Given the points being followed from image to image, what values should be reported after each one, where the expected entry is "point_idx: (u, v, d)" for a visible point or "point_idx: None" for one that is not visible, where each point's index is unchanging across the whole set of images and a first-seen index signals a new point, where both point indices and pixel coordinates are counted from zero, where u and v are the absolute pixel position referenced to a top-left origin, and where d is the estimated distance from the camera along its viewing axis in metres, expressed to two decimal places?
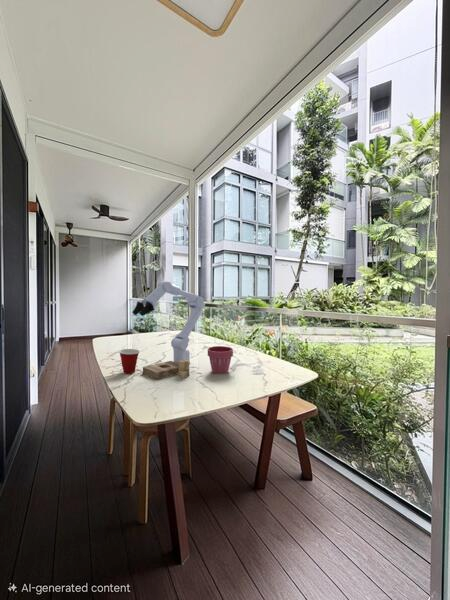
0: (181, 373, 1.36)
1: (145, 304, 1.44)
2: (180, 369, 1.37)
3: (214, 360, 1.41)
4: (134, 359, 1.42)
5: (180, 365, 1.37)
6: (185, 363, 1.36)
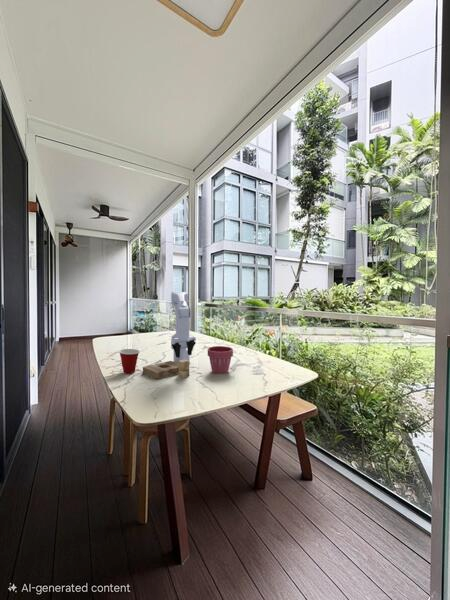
0: (181, 373, 1.36)
1: (182, 342, 1.37)
2: (180, 369, 1.37)
3: (214, 360, 1.41)
4: (134, 359, 1.42)
5: (180, 365, 1.37)
6: (185, 363, 1.36)
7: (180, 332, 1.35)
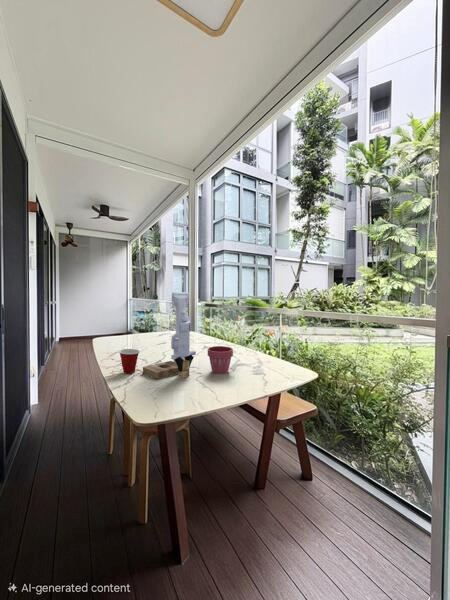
0: (181, 373, 1.36)
1: (182, 357, 1.37)
2: None
3: (214, 360, 1.41)
4: (134, 359, 1.42)
5: None
6: (185, 363, 1.36)
7: (180, 347, 1.35)
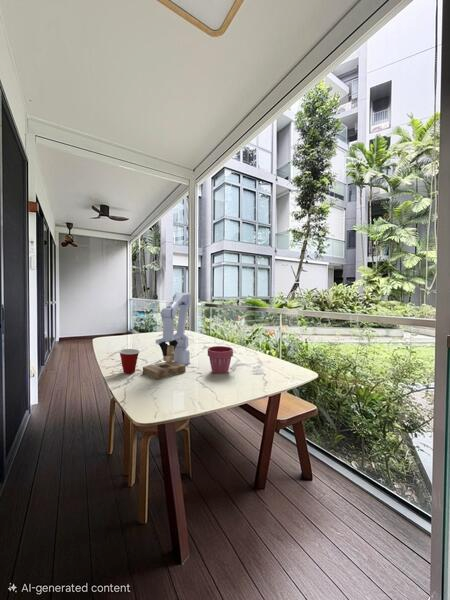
0: (165, 357, 1.40)
1: None
2: None
3: (214, 360, 1.41)
4: (134, 359, 1.42)
5: None
6: (169, 348, 1.40)
7: (164, 332, 1.39)
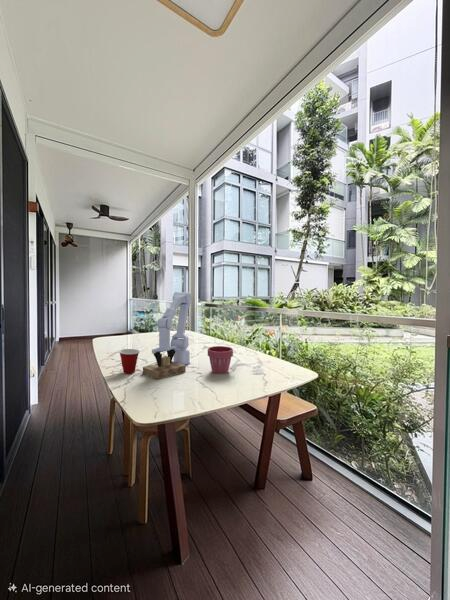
0: None
1: (163, 351, 1.42)
2: (161, 365, 1.42)
3: (214, 360, 1.41)
4: (134, 359, 1.42)
5: (161, 361, 1.42)
6: (166, 359, 1.41)
7: (161, 342, 1.41)
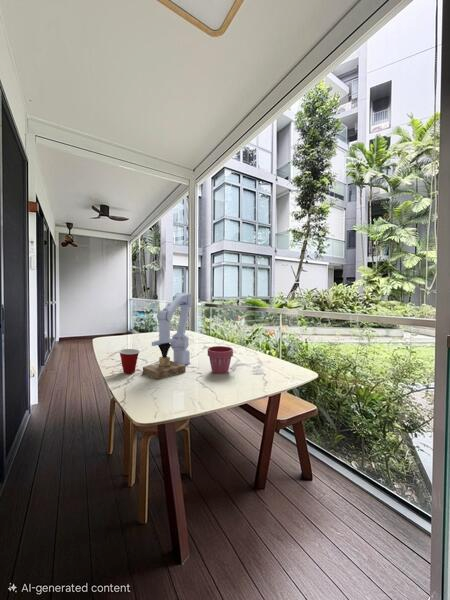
0: None
1: None
2: (161, 365, 1.42)
3: (214, 360, 1.41)
4: (134, 359, 1.42)
5: (161, 361, 1.42)
6: (165, 359, 1.41)
7: (161, 334, 1.41)
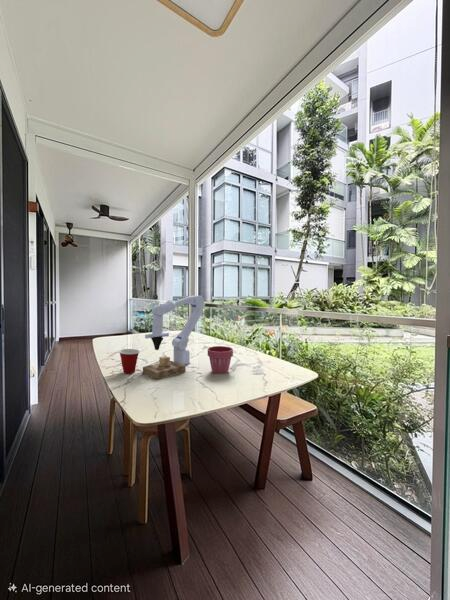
0: None
1: None
2: (161, 365, 1.42)
3: (214, 360, 1.41)
4: (134, 359, 1.42)
5: (161, 361, 1.42)
6: (166, 359, 1.41)
7: (154, 328, 1.50)
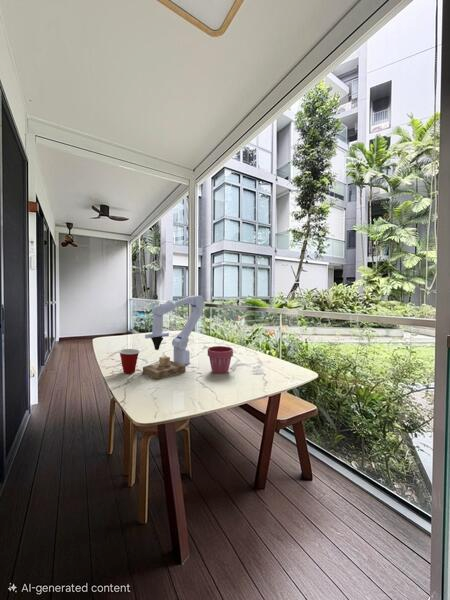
0: None
1: None
2: (161, 365, 1.42)
3: (214, 360, 1.41)
4: (134, 359, 1.42)
5: (161, 361, 1.42)
6: (166, 359, 1.41)
7: (154, 328, 1.50)
